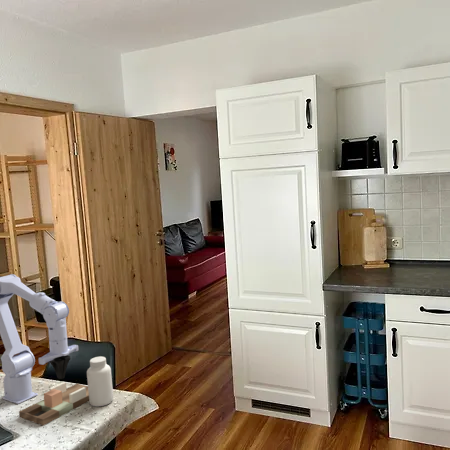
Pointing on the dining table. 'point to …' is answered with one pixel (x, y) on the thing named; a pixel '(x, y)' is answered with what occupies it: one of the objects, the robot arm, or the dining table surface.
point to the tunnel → (73, 396)
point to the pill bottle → (99, 382)
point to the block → (52, 398)
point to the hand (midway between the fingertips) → (61, 377)
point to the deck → (47, 414)
